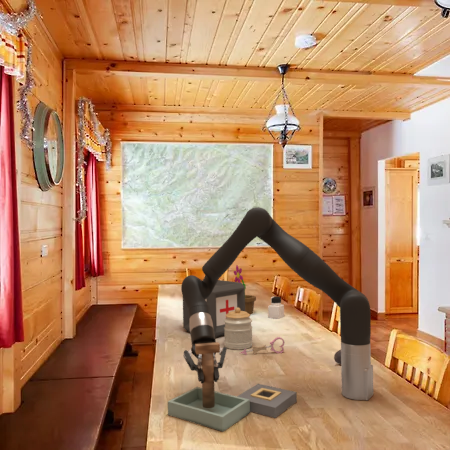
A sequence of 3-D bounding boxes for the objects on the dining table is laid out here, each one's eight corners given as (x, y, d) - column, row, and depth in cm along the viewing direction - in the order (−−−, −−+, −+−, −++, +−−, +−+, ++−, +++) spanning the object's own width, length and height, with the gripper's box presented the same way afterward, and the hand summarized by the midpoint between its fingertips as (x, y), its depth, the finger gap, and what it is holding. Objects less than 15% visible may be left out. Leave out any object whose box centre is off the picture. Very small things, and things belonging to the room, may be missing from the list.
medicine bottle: (284, 316, 265) (284, 296, 265) (279, 319, 259) (278, 298, 259) (273, 315, 269) (273, 295, 269) (268, 317, 263) (267, 297, 263)
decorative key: (240, 361, 192) (285, 351, 194) (240, 362, 191) (286, 352, 193) (237, 345, 192) (282, 336, 194) (238, 346, 191) (283, 336, 193)
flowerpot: (229, 312, 280) (228, 264, 280) (249, 310, 286) (248, 263, 286) (239, 316, 267) (238, 266, 267) (260, 314, 273) (259, 265, 273)
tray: (250, 413, 134) (249, 399, 133) (222, 431, 122) (222, 417, 122) (197, 398, 145) (196, 386, 145) (167, 414, 133) (167, 401, 133)
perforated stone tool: (337, 367, 173) (336, 349, 173) (331, 363, 178) (330, 345, 178) (372, 364, 176) (372, 346, 176) (365, 360, 181) (365, 342, 181)
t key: (219, 402, 136) (217, 341, 136) (221, 406, 133) (220, 344, 132) (196, 404, 135) (194, 343, 134) (197, 409, 131) (196, 346, 131)
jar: (250, 350, 197) (249, 310, 197) (221, 349, 200) (220, 310, 200) (254, 342, 210) (253, 305, 210) (227, 341, 213) (226, 304, 213)
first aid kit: (211, 340, 216) (210, 288, 216) (180, 331, 235) (179, 283, 235) (248, 331, 233) (247, 282, 233) (217, 323, 252) (216, 278, 251)
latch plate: (296, 401, 141) (296, 390, 141) (275, 418, 130) (275, 406, 130) (258, 392, 149) (258, 382, 149) (235, 407, 138) (234, 396, 138)
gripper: (180, 325, 139) (186, 378, 127) (225, 322, 142) (234, 373, 130) (179, 338, 144) (184, 389, 133) (222, 334, 147) (231, 385, 136)
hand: (209, 381), depth 132 cm, fingers closed on t key, 3 cm apart
